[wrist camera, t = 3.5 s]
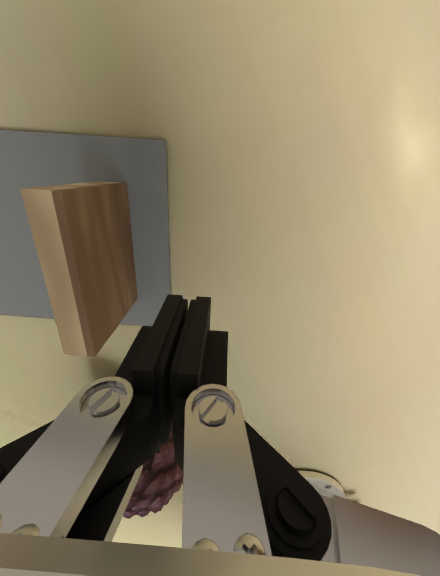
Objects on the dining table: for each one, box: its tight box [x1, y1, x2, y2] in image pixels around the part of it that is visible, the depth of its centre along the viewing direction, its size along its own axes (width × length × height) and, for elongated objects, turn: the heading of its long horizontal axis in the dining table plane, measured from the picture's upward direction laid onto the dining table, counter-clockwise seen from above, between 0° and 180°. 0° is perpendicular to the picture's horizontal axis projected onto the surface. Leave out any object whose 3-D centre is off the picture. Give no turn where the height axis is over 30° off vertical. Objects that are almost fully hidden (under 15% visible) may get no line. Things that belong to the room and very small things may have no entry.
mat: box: [0, 130, 171, 326], centre depth 22 cm, size 20×16×1 cm
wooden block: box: [20, 181, 138, 357], centre depth 18 cm, size 2×10×8 cm, turn 177°
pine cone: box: [123, 429, 184, 519], centre depth 26 cm, size 18×10×10 cm, turn 26°
